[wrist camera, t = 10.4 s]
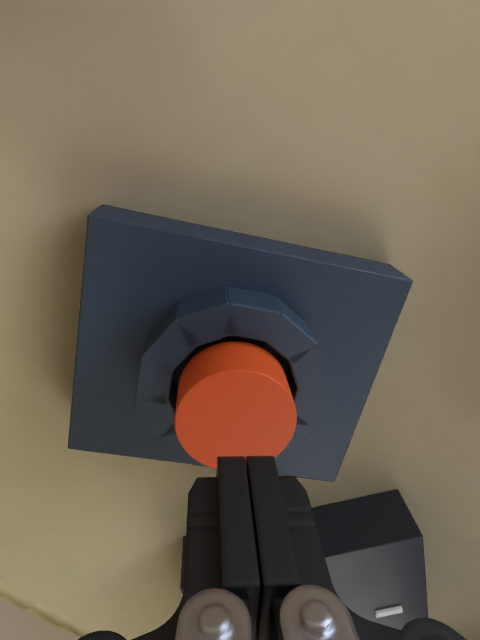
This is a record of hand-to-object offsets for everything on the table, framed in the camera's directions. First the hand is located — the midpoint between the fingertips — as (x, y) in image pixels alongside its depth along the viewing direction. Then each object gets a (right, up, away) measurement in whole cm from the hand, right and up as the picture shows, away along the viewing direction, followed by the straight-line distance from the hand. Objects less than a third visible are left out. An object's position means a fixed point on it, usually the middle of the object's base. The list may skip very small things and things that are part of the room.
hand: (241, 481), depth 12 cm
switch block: (-1, +3, +8) cm, 8 cm away
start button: (0, +2, +4) cm, 5 cm away
